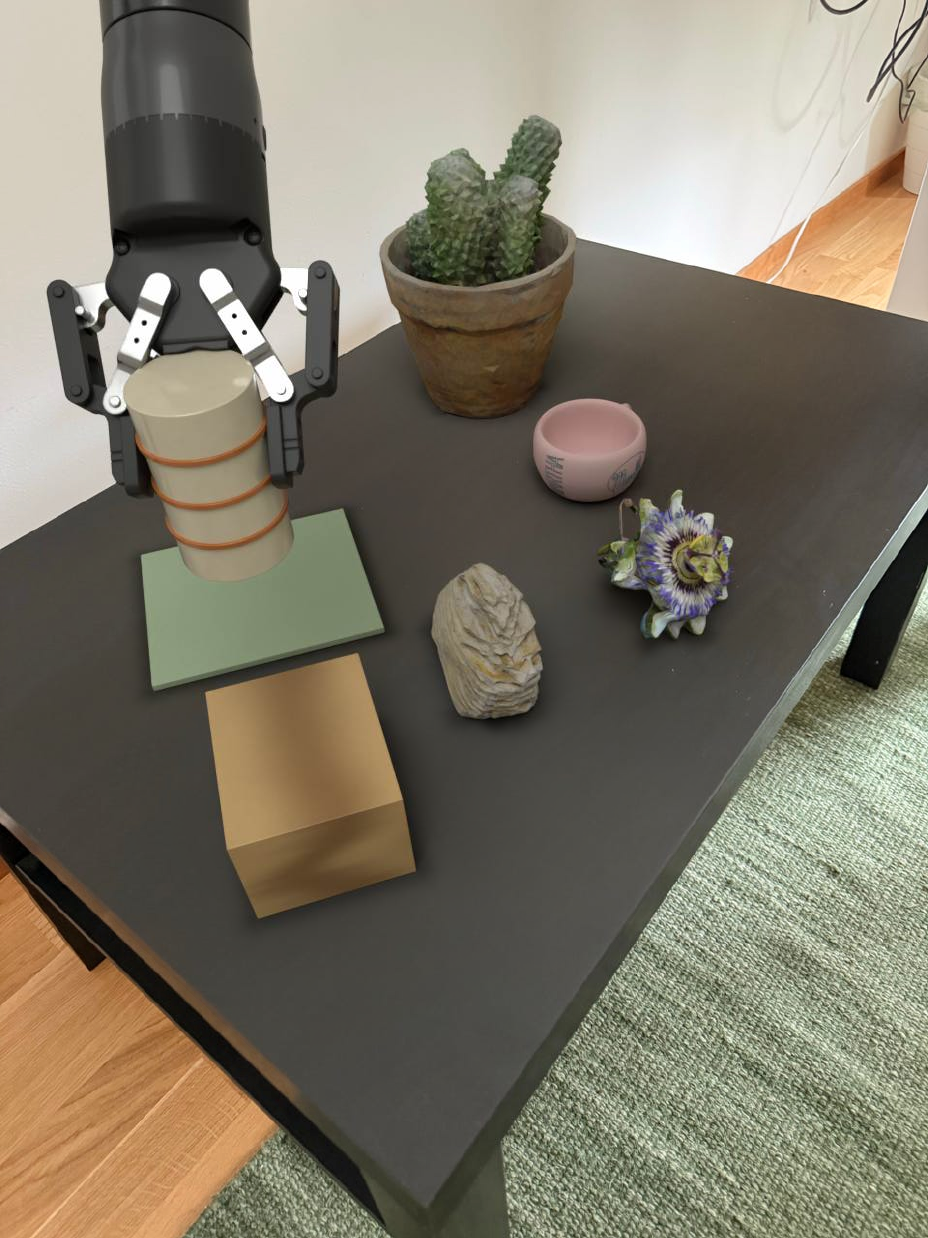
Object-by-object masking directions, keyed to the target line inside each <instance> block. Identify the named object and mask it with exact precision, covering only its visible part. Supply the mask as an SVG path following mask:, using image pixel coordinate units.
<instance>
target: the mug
mask: <svg viewBox="0 0 928 1238" xmlns="http://www.w3.org/2000/svg"><path fill="white" fill-rule="evenodd" d="M632 409H633V408H632V406H631V405H630V404H629V403H621V404H620V403H619V402H615V401H611V400H607V399H601V398H578V399H573V400H568V401H565V402H561V403H559V404H557V405H555V406H553V407H551V408H549V409H548V410H547V411H545V412H544V414H542V415H541V417H540V418H539V419H538V420H537V422H536V424H535V427H534V431H533V435H532V436H533V438H532V453H533V454H532V455H533V460H534V463H535V466H536V468H537V470H538V473H539V474H540V476H541V478H542V480H543V482H544V483H545V484H546V485H547V487H548V488H549V489H550V490H552V491H553V492H554V493H555V494H557V495H559V496H561V497H563V498H566V499H568V500H571V501H577V502H580V503H581V502H583V503H593V502H601V501H606V500H609V499H612V498H615V497H616V496H618V495H620V494H622V493H623V492H624V491H625V490H627V488H629V486H631V485H632V483H633V481H635V479H636V477H637V475H638V474H639V472H640V470H641V469H642V467H643V463H644V461H645V457H646V451H647V431H646V427H645V425H644V422H643V421H642V419H641V417H639V415H638V414H637V413H636V412H635V411H633V410H632Z"/></svg>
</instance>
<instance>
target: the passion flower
mask: <svg viewBox="0 0 928 1238" xmlns="http://www.w3.org/2000/svg"><path fill="white" fill-rule="evenodd" d="M682 502H683V490H681V489H677V490H675V491H674V492H673V493H672V494H671V495H670V496H669V498H668V500H667V502H666V509H665V512H664V511H662V512H660V509H659V508H658V507H657V506H654V505H653V503H652V500H651V499H649V498H643V497H641V498H639V500H638V507H639V509H638V507H637V506H636V505H635V503H634V501H633V499H632V498H623V499H622V501H621V503H620V504H619V506H618V526H619V527H618V531H619V536H618V537H617V538H615V539H614V540H612V541H611V542H609V543H607V544H606V545H604V546H601V548H600V549H599V550H598V551H597V553H596V555H597V557H601V556H602V558H601V559H598V560H597V563H598V564H599V565H600V566H602V568H604V569H606V570H608V572H609V573H610V584H611V586H615V587H616V588H620V589H627V590H633V591H638V590H641V591H642V590H643V591H646V592H648V593H649V594H650V595H651V597H652V602H651V604H650V607H649V609H648V610H647V612H645V613H644V615H643V616H642V619H641V622H640V631H641V634H642V636H643V637H644V638H645V639H646V640H654V639H657V638H659V636H660V635H661V634H662V633H663V631H664V632H665V633H666V635H668V636H669V638H671V639H672V640H674V641H677V639H678V638H679V635H680V633H681V632H680V631H681V629H682V628H683V627H684V628H685V629H686V630H687V631H688V632H690V633H691V634H693V635H696V636H701V635H702V634H703V632H704V630H705V628H706V619H707V616H708V615H709V614H710V611H711V610H712V606H714V605H716V604H717V602H721V601H722V602H723V601H725V600H727V599H728V597H729V594H728V590H727V585H728V583H729V582H731V581H732V579H730V578H729V575H730V573H736V572H735V570H731V567H729V559H728V558H729V557H730V556H731V553H730V550H731V549H732V547H733V543H734V540H733V537H730V536H728V535H727V536H724V535H723V533H722V531H721V530H719V529H718V526H716V527H715V528H713V527H714V523H715V522H714V521H715V515H714V513H711V512H700V513H698V514H696V510H693V509H691V510H690V511H689V513H687V514H686V512H687V509H686V508H685V509H684V506H683V504H682ZM623 505H625V507H626V508H627V509H628V508H629V509H630V512H631V515H632V516H633V517H636V516H637V514H638V512H639V514H638V515H639V521H640V530H639V531H636V530H635V531H634V534H633V539H631V538H626V537H624V535H623V534H624V533H623V532H624V531H623V525H624V524H623V519H622V518H623ZM695 514H696V515H695ZM618 551H619V554H618ZM607 554H608V556H607V557H606V556H604V555H607ZM614 561H615V562H616V564H615V565H612V563H613V562H614Z"/></svg>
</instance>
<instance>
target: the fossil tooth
mask: <svg viewBox="0 0 928 1238" xmlns="http://www.w3.org/2000/svg"><path fill="white" fill-rule="evenodd" d="M523 598H524V594H523V593H522V592H521V591H520V589H519V588H518V587H516V586H515V585H514V584H513V582H511V581H510V580H509V578H508V577H507V576H506V575H505V574H501V573H499V572H498V571H497V570H495V569H494V568H493V567H492V566H491V565H488V564H485V563H483V562H479V563H475V564H472V566H471V567H469V568H468V569H465V570H464V571H463V572H460V573H459V574H457V575H456V576H455V577H454V578H452V579H451V580H450V581H449V582H448V583H447V584H446V585H445V586H444V588H442V589H441V591H440V592H439V593H438V596H437V598H436V603H435V605H434V611H433V614H432V627H431V638H432V639H433V641H434V644H435V645H436V647H437V653H438V658H439V661H440V664H441V668H442V670H443V674H444V677H445V681H446V682H445V683H446V686H447V688H448V692H449V695H450V698H451V702H452V704H453V706H454V708H455V710H456V713H458V715H460V716H461V717H464V718H471V719H477V720H485V719H488V718H492V719H497V718H503V717H512V716H514V715H518V714H523V713H527V712H529V710H530V709H532V707H534V706H535V704H536V702H537V700H538V698H539V697H538V694H539V693H540V691H539V684H538V683H539V680H540V679H541V672H542V671H543V669H544V668H543V662H542V657H541V655H540V653H539V652H540V651H541V650H542V647H541V645H540V641H539V640H538V637H537V635H536V631H535V630H536V629H535V625H536V624H537V621H536V619H535V618H534V616H533V613H532V611H531V609H530V607H529V605H528V604H527V603H526V602H525V601H524V600H523Z"/></svg>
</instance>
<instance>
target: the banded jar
mask: <svg viewBox="0 0 928 1238" xmlns="http://www.w3.org/2000/svg"><path fill="white" fill-rule="evenodd" d="M123 398H124V401H125V404H126V406H127V409H128V412H129V415H130V417H131V420H132V423H133V426H134V428H135V431H136V432H135V439H136V443H137V446H138V448H139V450H140V452H141V453H142V454H143V455H144V456H145V458H146V461H147V464H148V467H149V469H150V472H151V483H152V487H153V489H154V494H155V495H156V496H157V498H159V499H160V503H161V505H162V508H163V509H164V513H165V515H164V516H165V517H164V518H165V519H164V520H165V524H166V527H167V529H168V532H169V533H170V535H171V536H172V537H173V538H174V540H175V543H176V545H177V546H176V547H178V549H179V551H180V554H181V557H182V559H183V562H184V564H185V566H186V567H187V568H188V569H189V570H190V571H191V572H192V573H193V574H195V575H196V576H198V577H200V578H203V579H206V580H209V581H215V582H235V581H242V580H246V579H250V578H253V577H256V576H259V575H261V574H263V573H265V572H267V571H269V570H271V569H272V568H274V567H275V566H276V565H278V564H279V563H280V562H281V561H282V560H283V559H284V558H285V557H286V556H287V555H288V553H289V551H290V550H291V548H292V545H293V541H294V531H293V527H292V523H291V520H292V519H291V515H290V511H289V503H290V501H289V495H288V492H287V488H286V489H277V488H276V487H274V486H273V485H272V483H271V478H270V468H269V455H268V441H267V428H266V415H265V406H266V404H265V403H264V402H263V400H262V397H261V392H260V387H259V384H258V380H257V375H256V373H255V371H254V368H253V366H252V364H251V362H250V361H247V359H246V358H245V356H244V355H243V354H240V353H237V352H235V351H232V350H219V351H216V350H215V351H211V350H203V349H196V350H193V351H189V352H185V353H179V354H166V355H163V356H160V357H158V358H156V359H154V360H152V361H150V362H148V363H146V364H145V365H143V366H142V367H141V368H140V369H137V370H136V371H135V372H134V373H133V374H132V375H131V376H130V377H129V378H128V380H127V381H126V383H125V385H124V388H123Z"/></svg>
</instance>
